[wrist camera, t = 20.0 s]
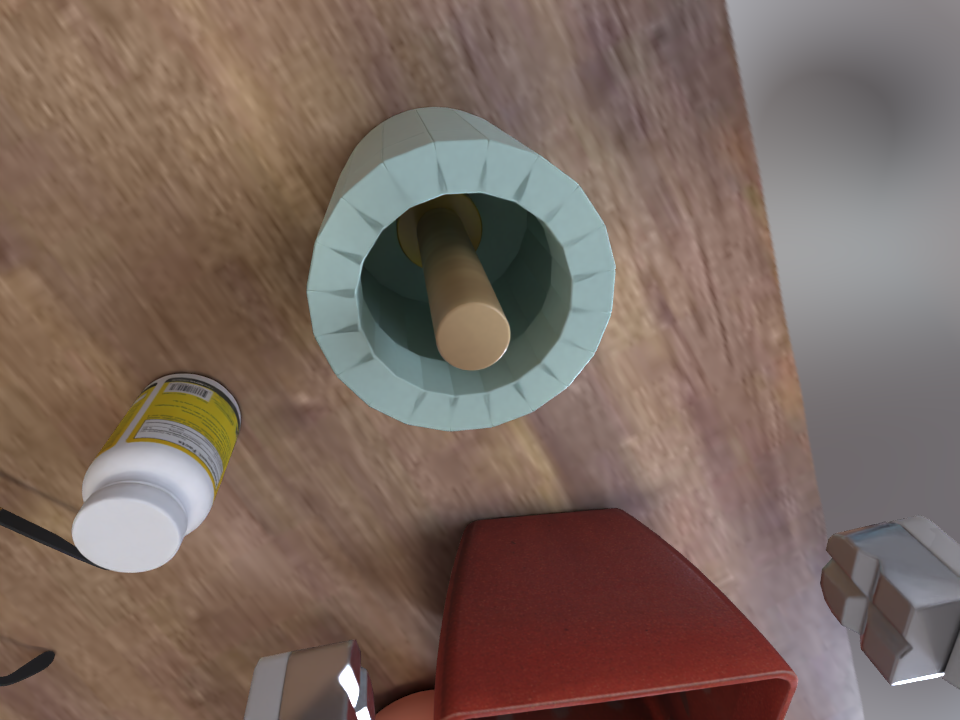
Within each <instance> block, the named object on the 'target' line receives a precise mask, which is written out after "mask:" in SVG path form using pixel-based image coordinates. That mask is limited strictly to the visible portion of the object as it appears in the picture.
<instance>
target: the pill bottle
mask: <svg viewBox="0 0 960 720" xmlns="http://www.w3.org/2000/svg"><path fill="white" fill-rule="evenodd" d="M240 426H241V415H240V410H239V407H238V405H237V403H236V401H235V399H234V397H233V396H232V395H231V394H230V393H229V392H228V391H227V390H226V389H225V388H224V387H223V386H222V385H220V384H219V383H217V382H216V381H214V380H212V379H209V378H207V377H204V376H200V375H195V374H172V375H168V376H165V377H162V378H160V379H157V380H155V381H154V382H152V383H151V384H150V385H148V386H147V387H146V388H145V389H144V390H143V391H142V393H141V394H140V395H139V396H138V398H137V399H136V401H135V402H134V403H133V405H132V406H131V408H130V409H129V411H128V412H127V414H126V415H125V416H124V418H123V419H122V421H121V422H120V424H119V425H118V426H117V428H116V429H115V431H114V432H113V433H112V435H111V436H110V438H109V439H108V441H107V442H106V443H105V445H104V446H103V448H102V449H101V450H100V452H99V453H98V455H97V456H96V457H95V459H94V460H93V462H92V463H91V465H90V466H89V468H88V470H87V472H86V474H85V477H84V480H83V485H82V496H83V501H84V504H83V506H82V507H81V509H80V511H79V512H78V514H77V516H76V517H75V519H74V522H73V525H72V538H73V541H74V543H75V546H76V547H77V549H78V550H79V551H80V553H81V554H82V555H83V556H84V557H86V558H87V559H88V560H90V561H91V562H93V563H94V564H96V565H98V566H100V567H103V568H105V569H109V570H113V571H117V572H126V573H135V572H144V571H149V570H152V569H155V568H158V567H160V566H162V565H164V564H165V563H167V562H168V561H169V560H171V559H172V557H173V556H174V555H175V554H176V552H177V551H178V549H179V547H180V545H181V542H182V540H183V538H184V536H185V535H187V534H189V533H190V532H192V531H193V530H195V529H196V528H197V527H198V526H199V525H200V524H201V523H202V522H203V521H204V519H205V518H206V517H207V515H208V513H209V511H210V509H211V507H212V505H213V502H214V500H215V497H216V494H217V491H218V489H219V486H220V484H221V481H222V478H223V475H224V473H225V470H226V467H227V464H228V462H229V459H230V456H231V454H232V451H233V448H234V445H235V443H236V440H237V437H238V434H239V430H240Z"/></svg>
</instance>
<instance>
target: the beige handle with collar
mask: <svg viewBox="0 0 960 720" xmlns="http://www.w3.org/2000/svg"><path fill="white" fill-rule="evenodd" d="M396 229H397V238H398V242H399V244H400V247H401V249H402V251H403V252H404V254H405V255H406V256H407V257H408V259H409V260H410V261H412V262H413V263H414V264H416V265H417V266H419V267H421V268H423V272H424V278H425V283H426V289H427V295H428V300H429V306H430V312H431V317H432V323H433V329H434V334H435V340H436V345H437V348H438V351H439V353H440V355H441V356H442V357H443V359H444V360H445V361H446V362H448V363H449V364H450V365H452V366H454V367H456V368H459V369H462V370H480V369H484V368H487V367H489V366H491V365H492V364H494V363H495V362H497V361H498V360H499V359H500V358H501V357H502V356H503V354H504V353H505V351H506V349H507V347H508V345H509V342H510V326H509V323H508V321H507V319H506V316H505V314H504V312H503V310H502V308H501V306H500V303H499V301H498V299H497V297H496V295H495V293H494V290H493V288H492V286H491V284H490V282H489V280H488V277H487V275H486V273H485V271H484V269H483V267H482V264H481V262H480V260H479V258H478V256H477V254H476V250H477V249H478V247H479V244H480V242H481V238H482V220H481V216H480V213H479V211H478V209H477V207H476V205H475V204H474V202H473V200H472V199H471V197H470V196H469V194H468V193H462V194H444V195H442V196H439V197H436V198H434V199H431V200H429V201H426V202H424V203H421V204H418V205H416V206H413V207H411V208H409V209H408V210H407V211H406V212H404V213H403V214H402V215H401V216H399V217H398V218H397V219H396Z"/></svg>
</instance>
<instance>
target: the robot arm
mask: <svg viewBox="0 0 960 720" xmlns="http://www.w3.org/2000/svg"><path fill="white" fill-rule="evenodd" d="M826 551H827V552H828V553H829V555H830V556H831V557H832V559H831V560H830V561H829V562H828V563H827V564H826V565H825V566H824V568H823V569H822V574H821V581H820V584H821V588H822V592H823V595H824V599H825V601H826V603H827V605H828V607H829V608H830V610H831V612H832V613H833V615H834V616H835V617H836V618H837V620H838V621H839V622H840V623H841V625H842V626H844V627H846V628H848V629H850V630H852V631H854V632H856V633H858V634H859V635H860V644H861V650H862V651H863V652H864V653H865V655H866V656H867V657H868V658H869V659H870V661H871V662H872V663H873V664H874V666H875V667H876V668H877V669H878V670H879V672H880V673H881V674H882V675H883V677H884V678H885V679H886V680H887V682H888V683H889V684H890V685H891V686H893V685H897V684H902V683H907V682H912V681H917V680H922V679H927V678H931V677H937V676H942V675H943V677H942V679H944V680H945V681H947V682H948V683H950V684H952V685H953V686H955V687H956V688H958V689H960V545H959V544H958V543H957V542H956V541H954V540H953V539H952V538H951V537H950V536H949V535H947V534H946V533H945V532H944V531H942V529H940V528H939V527H938V526H937V525H935V524H934V523H933V522H932V521H931V520H929V519H927V518H925V517H922V516H920V515H918V516H913V517H908V518H903V519H900V520H895V521H890V522H882V523H878V524H874V525H869V526H865V527H861V528H857V529H852V530H849V531H844V532H840V533H835V534H833V535H832V536H831V537H830V538H829V539H828V543H827V547H826ZM244 720H375V705H374V695H373V689H372V684H371V680H370V677H369V674H368V671H367V669H365V668H363V667H361V651H360V649H359V646H358V644H357V641H356V639H355V640H349V641H344V642H338V643H333V644H328V645H323V646H317V647H312V648H307V649H301V650H296V651H291V652H286V653H281V654H277V655H272V656H267V657H262V658H260V659H259V661H258V663H257V665H256V667H255V669H254V673H253V678H252V682H251V687H250V692H249V696H248V701H247V706H246V710H245V715H244Z"/></svg>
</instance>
